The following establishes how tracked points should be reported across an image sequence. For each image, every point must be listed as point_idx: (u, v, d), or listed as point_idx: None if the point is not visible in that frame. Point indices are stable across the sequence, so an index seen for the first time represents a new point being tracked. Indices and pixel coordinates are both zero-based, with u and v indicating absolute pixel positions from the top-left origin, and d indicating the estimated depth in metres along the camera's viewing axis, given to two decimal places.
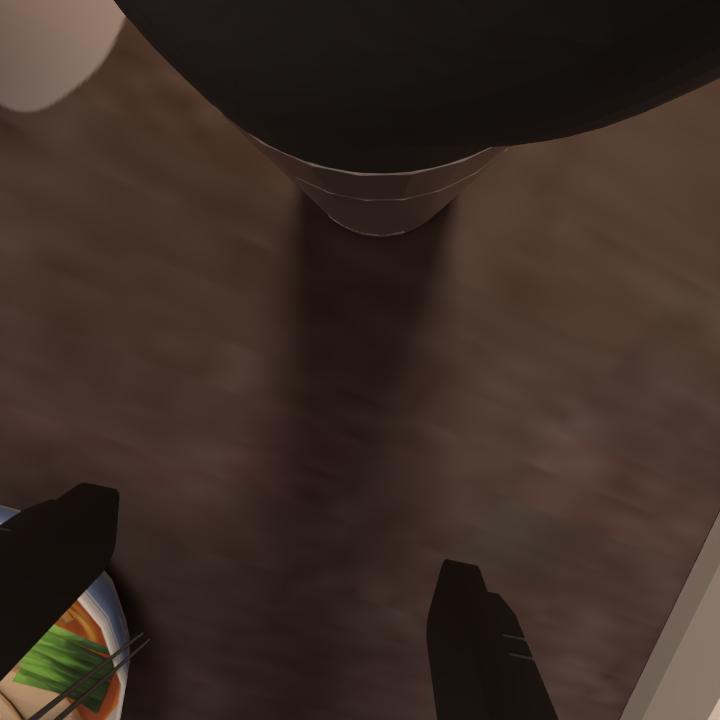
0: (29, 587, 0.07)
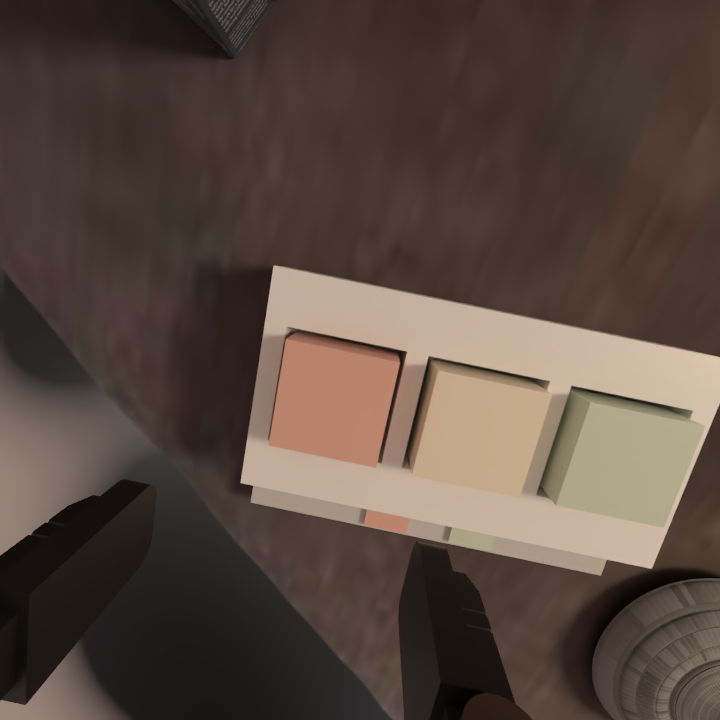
0: (83, 577, 0.07)
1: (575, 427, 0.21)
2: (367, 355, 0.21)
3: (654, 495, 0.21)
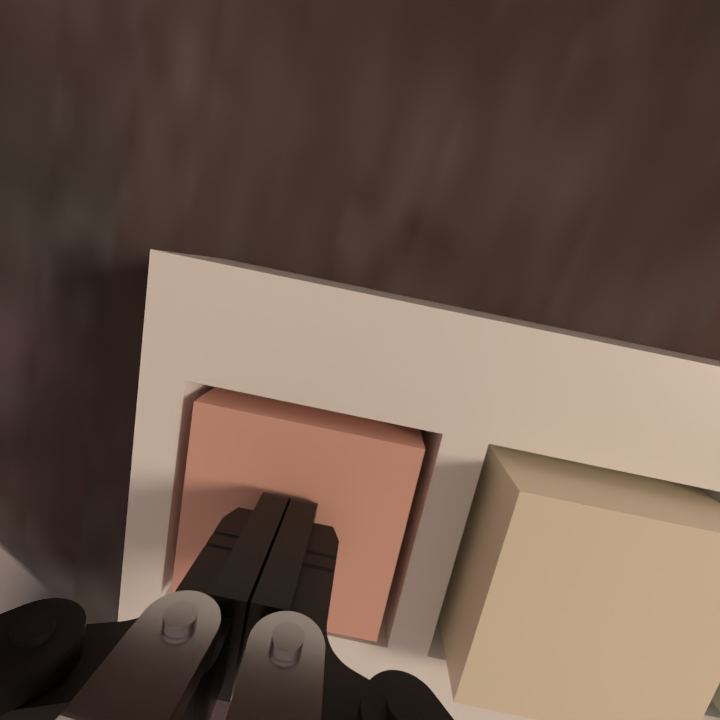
0: None
1: None
2: (359, 433, 0.10)
3: None
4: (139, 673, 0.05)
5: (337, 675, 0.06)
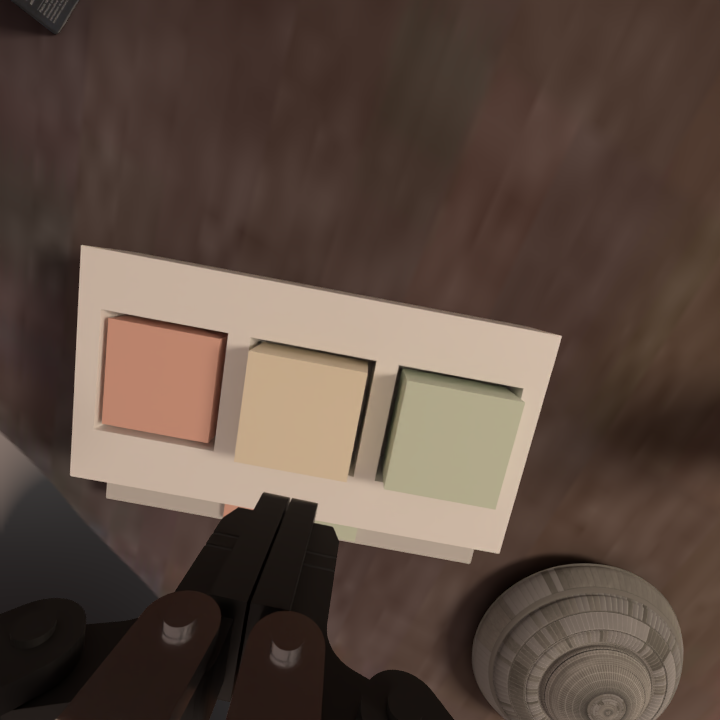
0: None
1: (399, 407, 0.21)
2: (189, 332, 0.21)
3: (482, 476, 0.21)
4: (139, 673, 0.05)
5: (337, 675, 0.06)
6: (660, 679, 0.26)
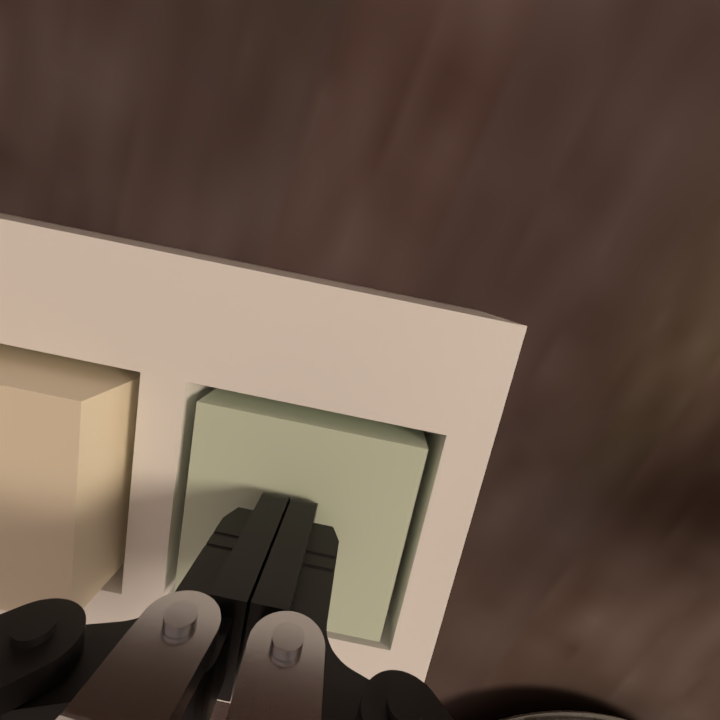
0: None
1: None
2: None
3: (352, 582, 0.11)
4: (139, 673, 0.05)
5: (337, 675, 0.06)
6: None
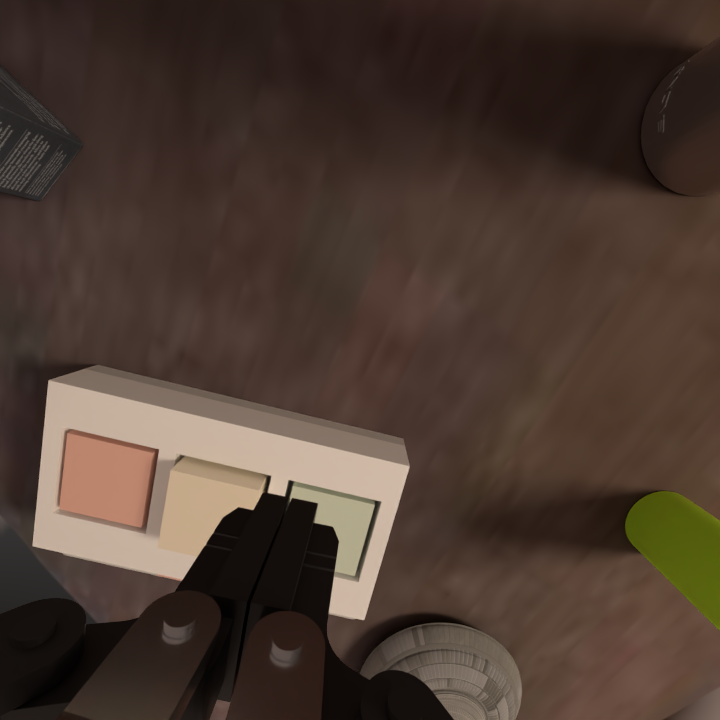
0: None
1: None
2: (129, 446, 0.28)
3: (345, 552, 0.29)
4: (139, 673, 0.05)
5: (337, 675, 0.06)
6: (494, 718, 0.33)
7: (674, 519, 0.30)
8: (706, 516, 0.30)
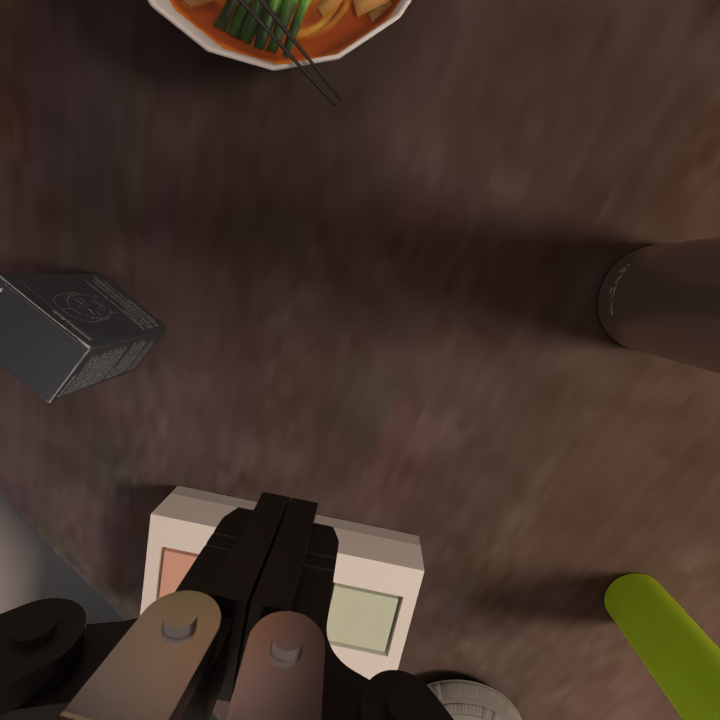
0: None
1: None
2: None
3: (376, 634, 0.37)
4: (139, 673, 0.05)
5: (337, 675, 0.06)
6: None
7: (639, 603, 0.37)
8: (664, 602, 0.37)
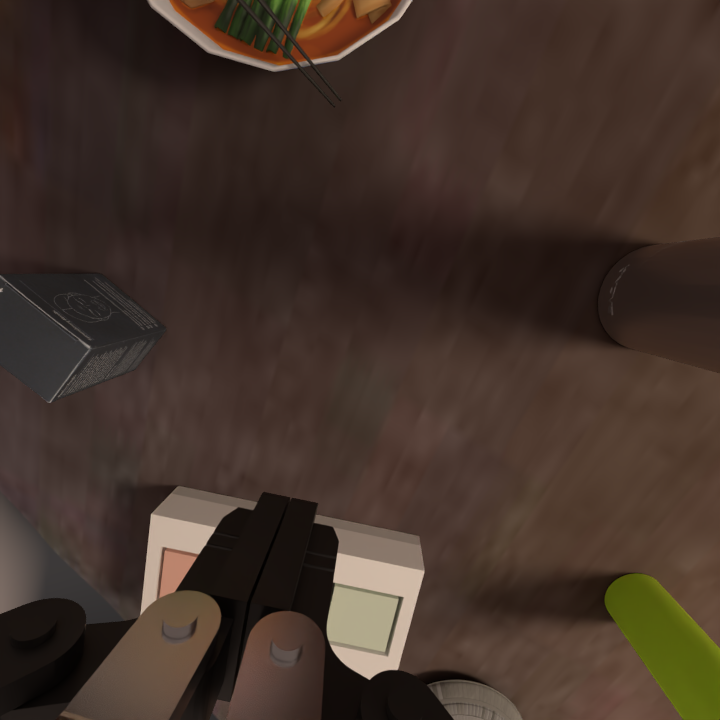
0: None
1: (332, 596, 0.37)
2: None
3: (377, 634, 0.37)
4: (139, 673, 0.05)
5: (337, 675, 0.06)
6: None
7: (639, 603, 0.37)
8: (665, 602, 0.37)
